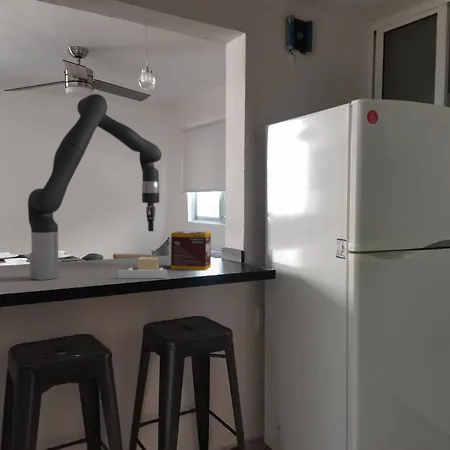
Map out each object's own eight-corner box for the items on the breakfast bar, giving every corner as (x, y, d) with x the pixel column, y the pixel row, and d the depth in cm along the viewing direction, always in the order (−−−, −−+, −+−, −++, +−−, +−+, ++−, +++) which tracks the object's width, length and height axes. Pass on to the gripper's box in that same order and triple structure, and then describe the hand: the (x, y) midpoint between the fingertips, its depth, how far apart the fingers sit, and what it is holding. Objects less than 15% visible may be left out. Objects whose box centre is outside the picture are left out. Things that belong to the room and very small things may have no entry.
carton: (137, 271, 185) (137, 259, 185) (140, 268, 192) (140, 257, 192) (157, 271, 185) (157, 259, 185) (159, 268, 193) (159, 257, 192)
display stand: (118, 278, 167) (118, 270, 167) (123, 272, 180) (123, 265, 180) (166, 278, 168) (166, 270, 168) (168, 272, 181) (168, 265, 181)
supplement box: (205, 270, 187) (205, 233, 186) (170, 269, 190) (170, 232, 190) (211, 266, 197) (211, 231, 197) (178, 265, 201) (178, 230, 200)
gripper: (143, 192, 203) (144, 230, 204) (140, 191, 190) (140, 232, 191) (160, 192, 204) (160, 230, 205) (158, 191, 191) (158, 232, 192)
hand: (150, 231), depth 198 cm, fingers closed
